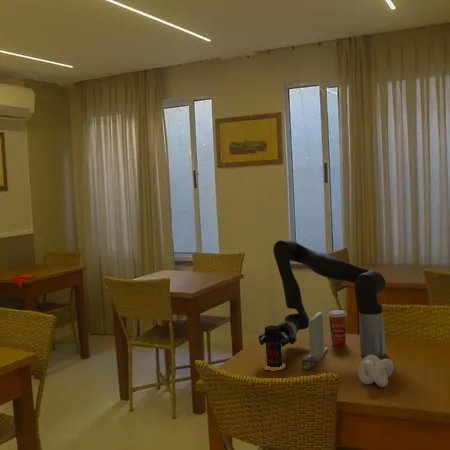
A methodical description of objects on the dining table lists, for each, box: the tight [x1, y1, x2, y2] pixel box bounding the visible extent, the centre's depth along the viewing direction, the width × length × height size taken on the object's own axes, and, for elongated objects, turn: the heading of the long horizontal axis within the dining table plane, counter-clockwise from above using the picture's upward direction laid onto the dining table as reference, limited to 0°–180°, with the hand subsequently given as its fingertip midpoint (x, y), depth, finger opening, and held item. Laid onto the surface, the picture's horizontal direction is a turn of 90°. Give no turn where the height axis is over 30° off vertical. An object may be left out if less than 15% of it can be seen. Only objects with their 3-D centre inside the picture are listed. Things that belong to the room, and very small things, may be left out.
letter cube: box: [301, 356, 316, 371], centre depth 213 cm, size 4×4×4 cm
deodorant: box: [264, 325, 283, 367], centre depth 216 cm, size 6×6×15 cm
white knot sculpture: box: [357, 355, 395, 388], centre depth 194 cm, size 11×12×9 cm
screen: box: [306, 311, 329, 362], centre depth 228 cm, size 5×15×16 cm, turn 156°
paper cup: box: [327, 309, 348, 347], centre depth 241 cm, size 8×8×14 cm
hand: (271, 343), depth 214 cm, fingers open, 8 cm apart
